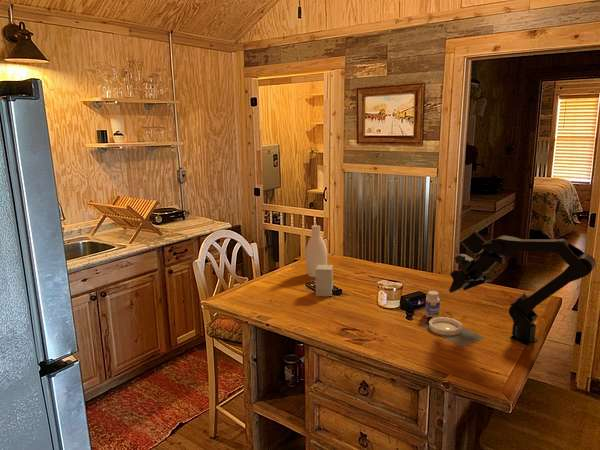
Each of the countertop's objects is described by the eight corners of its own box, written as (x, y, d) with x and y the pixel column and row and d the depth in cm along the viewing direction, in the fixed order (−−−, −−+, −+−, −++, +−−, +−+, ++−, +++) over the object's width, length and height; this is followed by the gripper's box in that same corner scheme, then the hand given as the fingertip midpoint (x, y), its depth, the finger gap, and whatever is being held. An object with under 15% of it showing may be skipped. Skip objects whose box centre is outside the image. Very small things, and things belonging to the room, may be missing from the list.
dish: (468, 330, 171) (468, 325, 170) (446, 338, 165) (446, 333, 164) (443, 319, 180) (444, 314, 180) (422, 326, 175) (422, 321, 174)
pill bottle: (429, 319, 181) (430, 295, 179) (422, 314, 186) (423, 291, 184) (442, 317, 183) (443, 294, 180) (434, 312, 188) (435, 289, 186)
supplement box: (331, 296, 206) (331, 269, 204) (315, 296, 208) (314, 269, 205) (333, 290, 214) (333, 264, 211) (317, 290, 215) (316, 264, 212)
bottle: (331, 273, 238) (331, 225, 232) (320, 279, 229) (320, 229, 223) (312, 270, 244) (312, 222, 238) (301, 276, 234) (300, 227, 229)
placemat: (485, 338, 165) (485, 337, 165) (462, 347, 159) (462, 346, 159) (441, 318, 182) (441, 318, 182) (419, 326, 176) (419, 325, 175)
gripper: (482, 245, 178) (457, 272, 187) (454, 248, 166) (429, 276, 175) (502, 267, 172) (475, 294, 180) (475, 271, 160) (447, 299, 169)
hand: (457, 290), depth 176 cm, fingers open, 9 cm apart
